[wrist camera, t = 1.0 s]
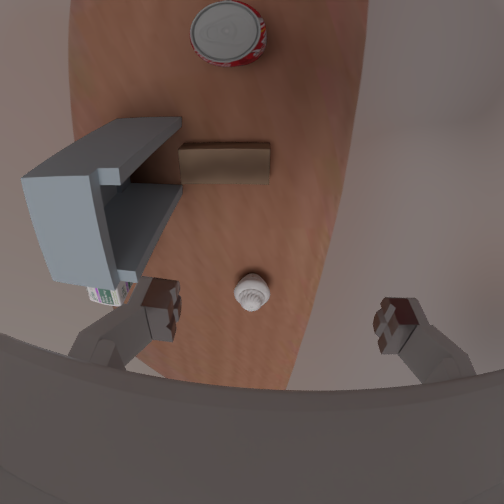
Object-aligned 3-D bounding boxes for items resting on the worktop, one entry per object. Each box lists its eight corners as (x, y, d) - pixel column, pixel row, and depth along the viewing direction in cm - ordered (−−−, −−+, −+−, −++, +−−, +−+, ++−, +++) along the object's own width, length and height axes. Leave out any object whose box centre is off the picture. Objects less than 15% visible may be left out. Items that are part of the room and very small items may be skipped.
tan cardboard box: (184, 142, 40) (178, 149, 37) (269, 142, 39) (270, 149, 37) (187, 174, 43) (181, 184, 40) (268, 175, 42) (268, 184, 40)
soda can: (268, 63, 32) (271, 63, 22) (212, 68, 33) (189, 72, 23) (264, 14, 28) (264, -8, 18) (207, 20, 29) (181, 3, 18)
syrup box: (152, 248, 51) (123, 308, 39) (122, 245, 50) (89, 302, 39) (149, 220, 47) (115, 278, 36) (117, 217, 47) (78, 273, 35)
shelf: (116, 118, 37) (20, 178, 20) (181, 116, 37) (110, 175, 20) (123, 191, 44) (53, 280, 27) (182, 193, 44) (133, 293, 27)
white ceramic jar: (233, 288, 55) (229, 317, 50) (238, 263, 52) (235, 292, 46) (265, 294, 56) (265, 322, 50) (273, 270, 52) (274, 298, 47)
